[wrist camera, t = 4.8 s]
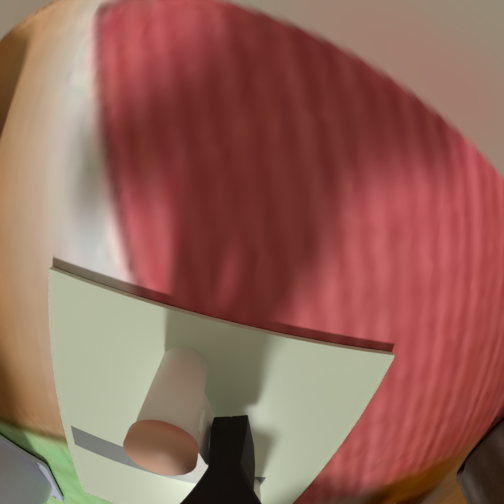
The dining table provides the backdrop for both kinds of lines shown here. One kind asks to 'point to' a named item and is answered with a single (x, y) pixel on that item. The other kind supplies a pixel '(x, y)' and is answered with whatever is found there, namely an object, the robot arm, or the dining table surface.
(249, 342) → the card
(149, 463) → the fence panel
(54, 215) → the dining table surface
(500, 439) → the plant pot
